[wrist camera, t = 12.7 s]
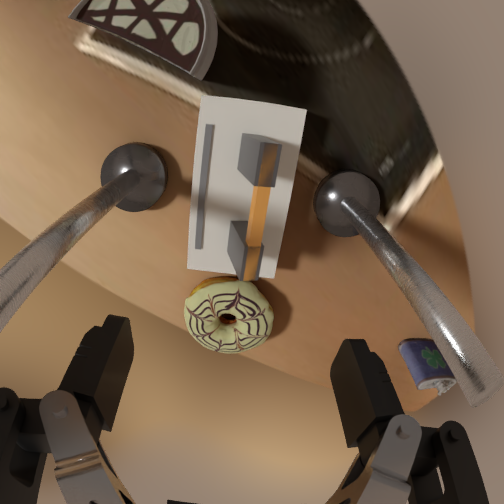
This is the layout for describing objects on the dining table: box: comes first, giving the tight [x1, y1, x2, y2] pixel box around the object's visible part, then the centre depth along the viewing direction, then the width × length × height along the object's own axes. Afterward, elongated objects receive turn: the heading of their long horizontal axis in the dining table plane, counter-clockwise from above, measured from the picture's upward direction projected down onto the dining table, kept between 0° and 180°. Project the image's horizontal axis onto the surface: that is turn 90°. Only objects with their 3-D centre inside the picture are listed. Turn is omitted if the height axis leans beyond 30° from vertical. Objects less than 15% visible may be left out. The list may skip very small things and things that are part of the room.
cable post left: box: [0, 142, 168, 332], centre depth 17 cm, size 7×7×24 cm
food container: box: [68, 0, 218, 81], centre depth 17 cm, size 12×6×10 cm, turn 55°
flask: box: [398, 338, 457, 395], centre depth 37 cm, size 9×3×11 cm, turn 74°
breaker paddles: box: [227, 133, 282, 281], centre depth 24 cm, size 2×11×5 cm, turn 172°
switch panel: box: [187, 95, 307, 278], centre depth 28 cm, size 9×17×3 cm, turn 172°
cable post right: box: [313, 169, 504, 407], centre depth 19 cm, size 7×7×24 cm
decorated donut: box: [184, 277, 274, 353], centre depth 35 cm, size 10×11×4 cm
